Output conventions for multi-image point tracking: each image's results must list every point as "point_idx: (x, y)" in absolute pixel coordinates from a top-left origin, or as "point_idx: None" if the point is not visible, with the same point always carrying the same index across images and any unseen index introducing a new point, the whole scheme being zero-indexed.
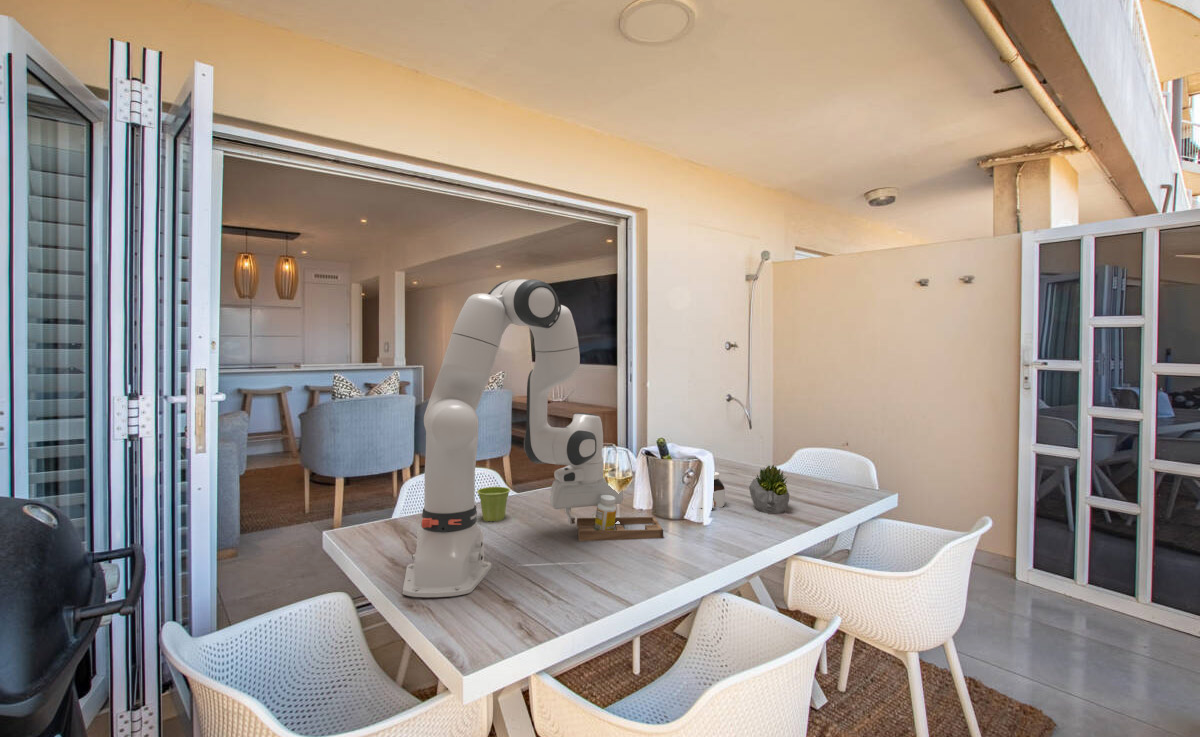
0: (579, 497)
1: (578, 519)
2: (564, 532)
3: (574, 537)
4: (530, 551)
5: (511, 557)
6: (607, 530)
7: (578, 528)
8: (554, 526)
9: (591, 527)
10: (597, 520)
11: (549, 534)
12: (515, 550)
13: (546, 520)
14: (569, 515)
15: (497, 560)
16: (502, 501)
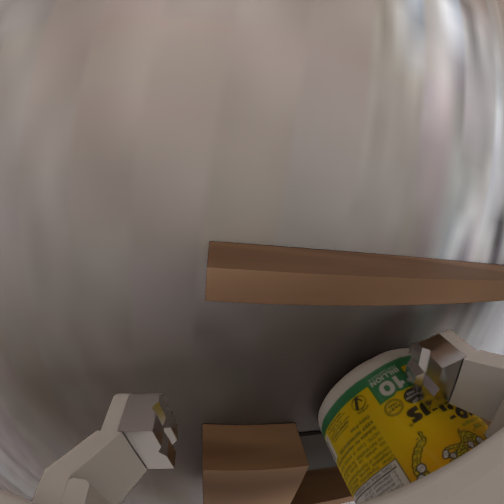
0: None
1: (222, 298)
2: (110, 363)
3: (180, 443)
4: None
5: (27, 494)
6: (351, 497)
7: (203, 495)
8: (32, 205)
9: (288, 485)
10: (347, 486)
11: (36, 375)
12: (9, 468)
13: (11, 48)
14: (120, 487)
15: (11, 492)
16: None
